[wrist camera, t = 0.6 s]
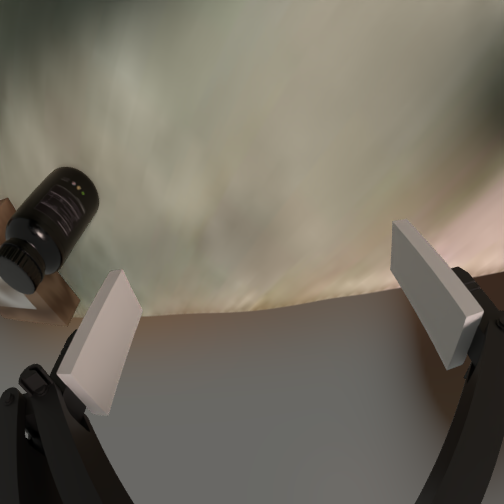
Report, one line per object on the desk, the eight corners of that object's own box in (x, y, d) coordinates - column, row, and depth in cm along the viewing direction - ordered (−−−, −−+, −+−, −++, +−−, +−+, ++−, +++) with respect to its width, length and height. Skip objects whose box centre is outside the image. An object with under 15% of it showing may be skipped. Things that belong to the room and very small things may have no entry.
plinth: (-44, 220, 34) (-61, 240, 30) (7, 197, 30) (-16, 223, 26) (14, 298, 47) (3, 318, 44) (80, 300, 43) (67, 327, 40)
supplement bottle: (82, 226, 32) (31, 310, 23) (41, 187, 28) (-21, 265, 20) (113, 197, 29) (54, 290, 20) (67, 151, 25) (-10, 233, 17)
